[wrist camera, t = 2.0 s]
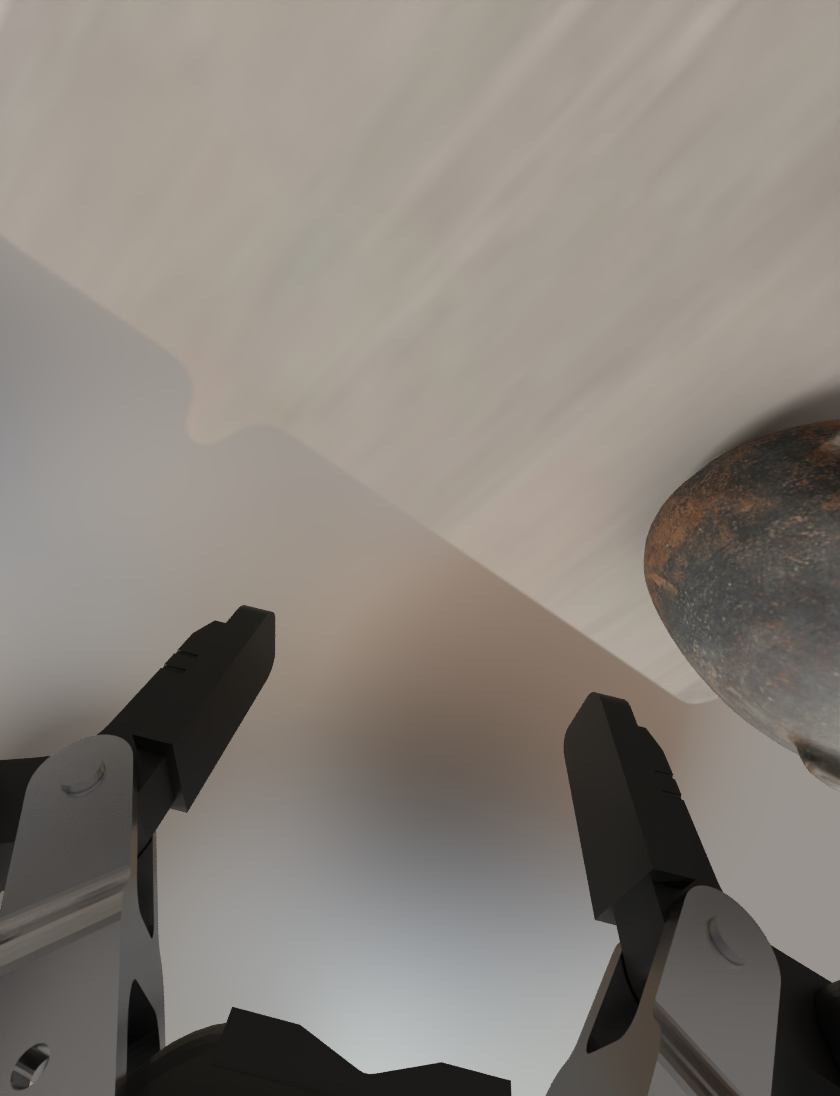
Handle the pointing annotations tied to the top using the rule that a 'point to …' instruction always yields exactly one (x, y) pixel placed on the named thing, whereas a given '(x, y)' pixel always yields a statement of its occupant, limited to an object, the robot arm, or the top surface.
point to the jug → (761, 585)
